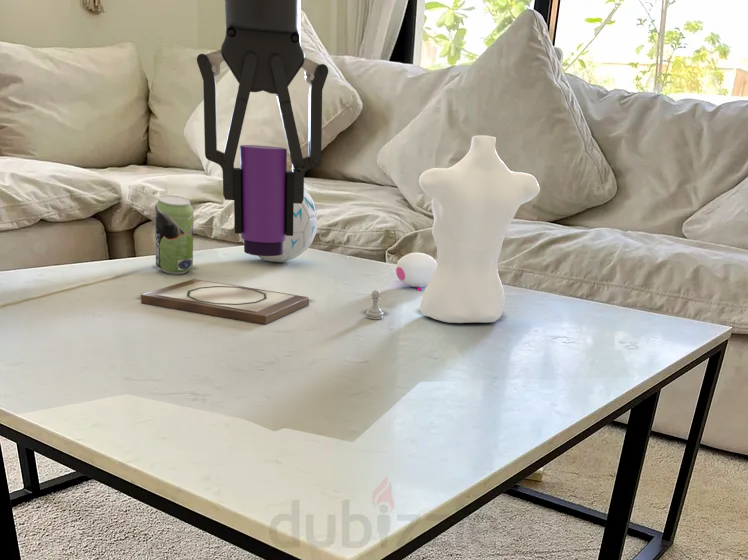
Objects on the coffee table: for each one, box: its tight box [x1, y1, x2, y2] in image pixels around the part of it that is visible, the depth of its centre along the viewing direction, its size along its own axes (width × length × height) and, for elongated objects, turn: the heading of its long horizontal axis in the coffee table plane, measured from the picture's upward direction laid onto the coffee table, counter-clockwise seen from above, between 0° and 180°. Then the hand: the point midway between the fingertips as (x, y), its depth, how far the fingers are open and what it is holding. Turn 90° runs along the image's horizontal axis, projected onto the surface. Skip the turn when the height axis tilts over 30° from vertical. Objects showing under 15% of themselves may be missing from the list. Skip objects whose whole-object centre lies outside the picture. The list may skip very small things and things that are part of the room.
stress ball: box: [395, 252, 437, 291], centre depth 135 cm, size 8×8×7 cm
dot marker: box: [239, 144, 288, 257], centre depth 87 cm, size 5×5×11 cm
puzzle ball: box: [238, 188, 318, 263], centre depth 144 cm, size 15×15×15 cm
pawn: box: [365, 289, 384, 320], centre depth 113 cm, size 3×3×4 cm
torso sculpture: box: [418, 134, 541, 324], centre depth 112 cm, size 18×10×25 cm, turn 108°
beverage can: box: [154, 194, 194, 275], centre depth 129 cm, size 6×7×12 cm
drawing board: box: [140, 278, 310, 325], centre depth 115 cm, size 20×14×1 cm
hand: (263, 232), depth 88 cm, fingers closed on dot marker, 5 cm apart
